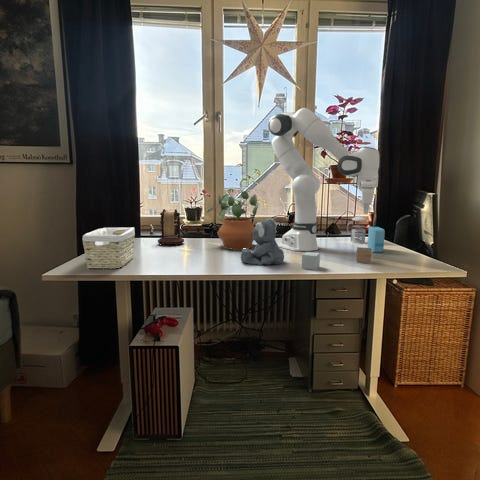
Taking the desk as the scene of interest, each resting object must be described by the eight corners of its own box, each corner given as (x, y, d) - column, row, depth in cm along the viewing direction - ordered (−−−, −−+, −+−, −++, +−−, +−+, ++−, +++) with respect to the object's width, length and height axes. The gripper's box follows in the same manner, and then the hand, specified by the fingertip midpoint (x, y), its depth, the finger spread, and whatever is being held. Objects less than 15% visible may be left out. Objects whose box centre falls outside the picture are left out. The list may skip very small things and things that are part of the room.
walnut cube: (356, 259, 162) (357, 247, 161) (370, 260, 161) (370, 248, 160) (356, 262, 157) (357, 249, 156) (370, 263, 155) (371, 250, 154)
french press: (369, 244, 199) (372, 200, 195) (348, 244, 199) (351, 200, 195) (363, 241, 209) (366, 199, 204) (343, 241, 209) (346, 199, 205)
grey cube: (301, 268, 147) (302, 254, 146) (305, 265, 153) (306, 251, 152) (315, 270, 145) (316, 256, 144) (319, 266, 150) (320, 253, 149)
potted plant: (256, 251, 180) (257, 192, 175) (203, 250, 183) (201, 192, 177) (258, 243, 202) (259, 190, 197) (210, 242, 205) (210, 190, 200)
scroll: (154, 246, 193) (152, 210, 190) (162, 241, 208) (161, 207, 204) (180, 247, 191) (178, 210, 188) (187, 242, 206) (186, 208, 202)
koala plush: (256, 256, 170) (256, 216, 167) (290, 260, 161) (292, 218, 158) (238, 263, 156) (238, 219, 152) (274, 268, 147) (275, 222, 143)
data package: (383, 253, 176) (385, 229, 174) (374, 253, 177) (375, 229, 175) (375, 248, 188) (377, 226, 186) (367, 248, 188) (368, 226, 186)
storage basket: (103, 257, 167) (101, 226, 165) (137, 257, 168) (136, 226, 165) (83, 270, 144) (80, 235, 141) (122, 270, 144) (120, 235, 142)
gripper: (359, 182, 172) (358, 211, 174) (360, 183, 153) (358, 215, 155) (373, 182, 170) (371, 211, 172) (376, 183, 151) (374, 215, 153)
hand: (365, 213), depth 164 cm, fingers open, 4 cm apart
